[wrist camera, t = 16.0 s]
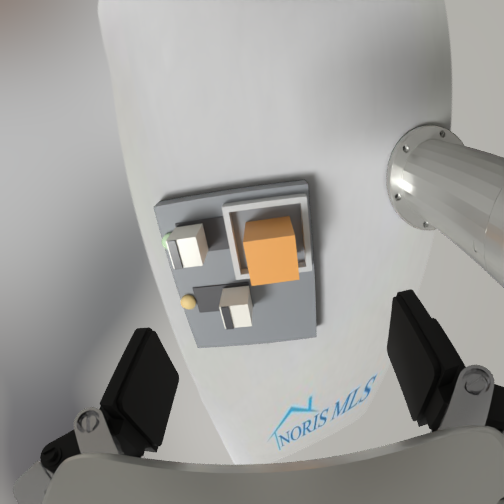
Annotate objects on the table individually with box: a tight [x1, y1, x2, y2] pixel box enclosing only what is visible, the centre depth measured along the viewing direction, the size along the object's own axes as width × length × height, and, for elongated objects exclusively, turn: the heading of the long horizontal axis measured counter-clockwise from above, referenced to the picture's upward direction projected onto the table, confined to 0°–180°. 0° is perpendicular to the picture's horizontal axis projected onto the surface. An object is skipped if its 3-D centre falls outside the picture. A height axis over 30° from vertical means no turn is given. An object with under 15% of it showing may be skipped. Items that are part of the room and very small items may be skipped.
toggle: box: [166, 223, 208, 270], centre depth 28 cm, size 3×3×4 cm
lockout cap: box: [243, 216, 300, 286], centre depth 28 cm, size 4×4×5 cm
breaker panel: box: [154, 180, 316, 348], centre depth 33 cm, size 20×16×3 cm
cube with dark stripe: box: [219, 286, 253, 330], centre depth 32 cm, size 3×3×4 cm
